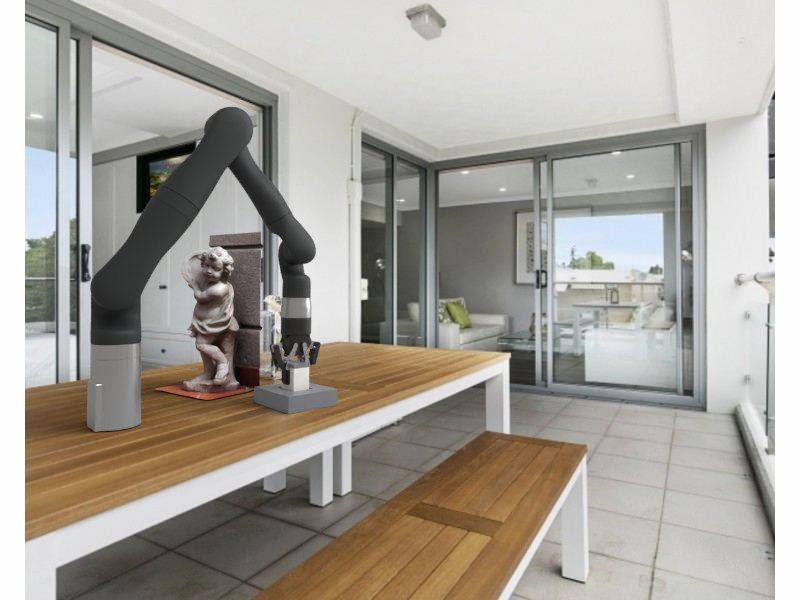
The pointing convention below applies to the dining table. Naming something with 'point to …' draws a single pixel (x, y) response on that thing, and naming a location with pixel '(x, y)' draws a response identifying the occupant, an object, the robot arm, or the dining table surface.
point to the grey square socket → (295, 398)
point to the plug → (298, 376)
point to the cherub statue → (225, 315)
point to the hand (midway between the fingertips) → (295, 382)
